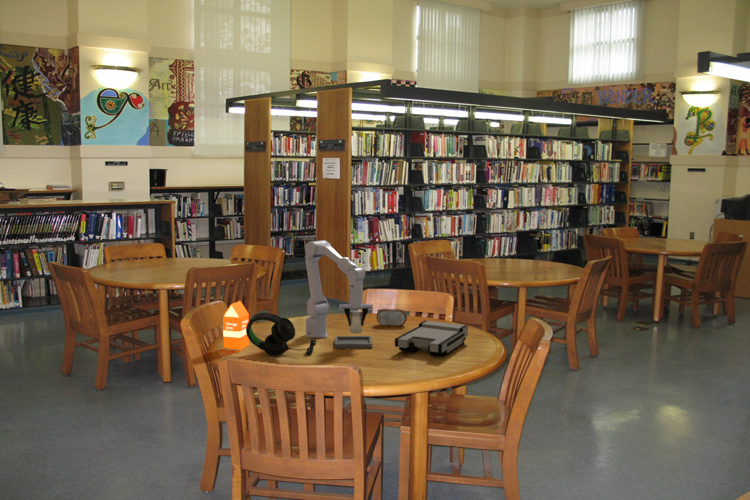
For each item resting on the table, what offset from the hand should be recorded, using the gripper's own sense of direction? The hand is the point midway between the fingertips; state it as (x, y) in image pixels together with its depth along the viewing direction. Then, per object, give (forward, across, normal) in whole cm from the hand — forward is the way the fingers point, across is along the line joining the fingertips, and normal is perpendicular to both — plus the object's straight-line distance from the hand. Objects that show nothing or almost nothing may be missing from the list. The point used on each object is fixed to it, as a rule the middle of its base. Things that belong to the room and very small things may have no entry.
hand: (355, 325), depth 292 cm
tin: (+9, +18, +35) cm, 40 cm away
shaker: (+3, 0, 0) cm, 3 cm away
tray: (+8, -1, 0) cm, 8 cm away
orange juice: (+9, -51, -6) cm, 52 cm away
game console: (+9, +33, -8) cm, 35 cm away
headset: (+9, -31, -15) cm, 36 cm away
